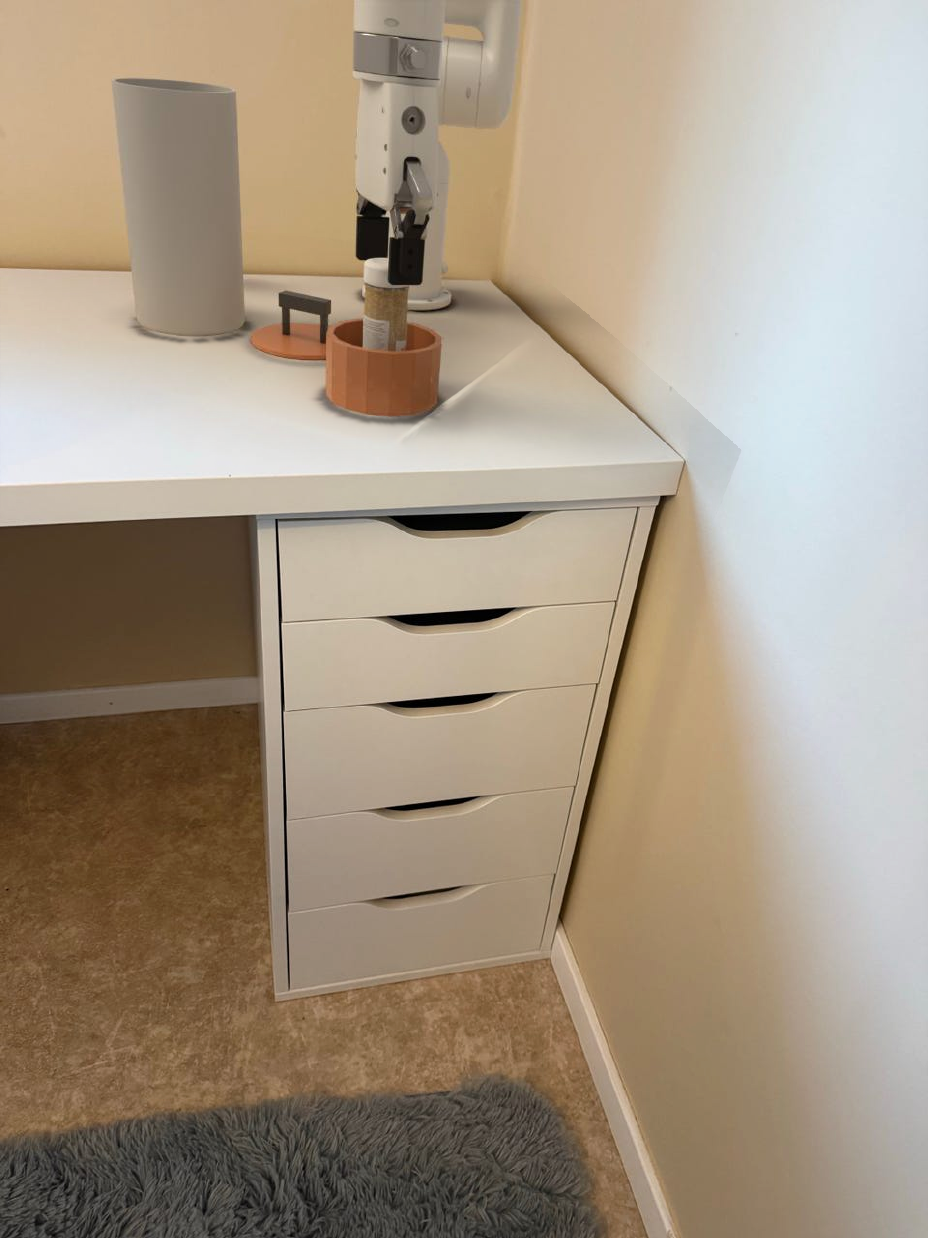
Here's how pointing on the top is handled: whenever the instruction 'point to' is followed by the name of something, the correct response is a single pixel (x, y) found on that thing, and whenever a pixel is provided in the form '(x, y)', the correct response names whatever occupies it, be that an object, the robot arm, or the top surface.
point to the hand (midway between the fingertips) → (387, 271)
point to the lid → (296, 329)
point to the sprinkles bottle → (383, 309)
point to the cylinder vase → (182, 203)
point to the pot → (382, 371)
